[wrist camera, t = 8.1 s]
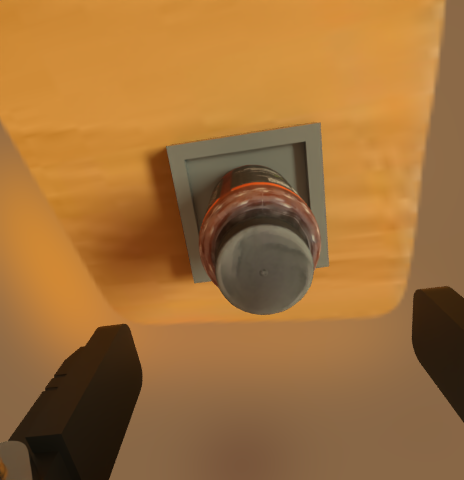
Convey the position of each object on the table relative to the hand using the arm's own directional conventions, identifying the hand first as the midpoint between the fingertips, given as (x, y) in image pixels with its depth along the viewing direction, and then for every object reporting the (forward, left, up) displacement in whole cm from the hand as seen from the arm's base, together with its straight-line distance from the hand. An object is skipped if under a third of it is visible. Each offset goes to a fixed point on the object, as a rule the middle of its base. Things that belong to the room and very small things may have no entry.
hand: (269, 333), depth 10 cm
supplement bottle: (0, 0, -16) cm, 16 cm away
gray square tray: (0, 0, -17) cm, 17 cm away
